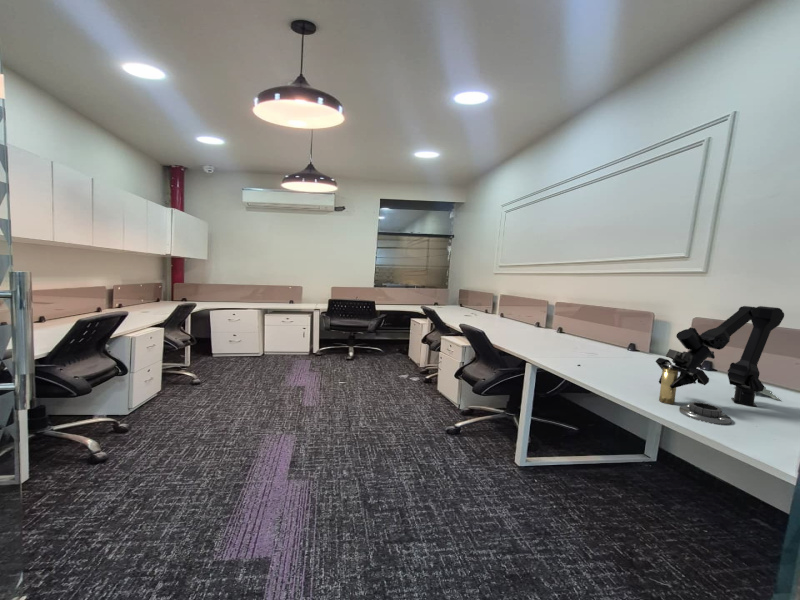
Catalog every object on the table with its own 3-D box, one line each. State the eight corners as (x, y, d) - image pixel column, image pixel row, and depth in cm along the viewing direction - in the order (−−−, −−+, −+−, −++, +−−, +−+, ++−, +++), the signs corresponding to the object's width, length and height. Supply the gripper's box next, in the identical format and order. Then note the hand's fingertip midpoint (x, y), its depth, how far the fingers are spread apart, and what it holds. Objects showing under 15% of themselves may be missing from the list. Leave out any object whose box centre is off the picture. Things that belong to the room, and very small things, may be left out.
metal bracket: (745, 382, 151) (734, 374, 163) (738, 394, 152) (728, 385, 165) (789, 399, 144) (774, 389, 157) (781, 411, 145) (767, 400, 158)
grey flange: (677, 405, 134) (678, 396, 134) (727, 415, 126) (728, 405, 126) (680, 416, 123) (681, 406, 123) (735, 428, 115) (736, 418, 115)
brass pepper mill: (658, 398, 140) (662, 363, 139) (674, 401, 138) (678, 365, 136) (659, 402, 136) (663, 365, 135) (674, 405, 134) (679, 367, 132)
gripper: (662, 338, 145) (634, 364, 145) (705, 348, 126) (674, 378, 126) (677, 357, 146) (650, 383, 146) (722, 370, 128) (691, 399, 128)
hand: (665, 385), depth 136 cm, fingers closed on brass pepper mill, 5 cm apart
